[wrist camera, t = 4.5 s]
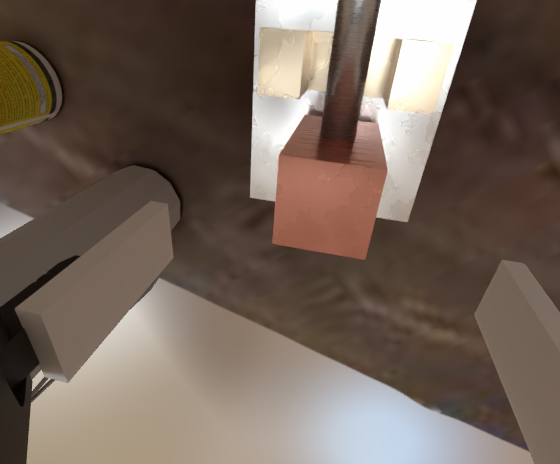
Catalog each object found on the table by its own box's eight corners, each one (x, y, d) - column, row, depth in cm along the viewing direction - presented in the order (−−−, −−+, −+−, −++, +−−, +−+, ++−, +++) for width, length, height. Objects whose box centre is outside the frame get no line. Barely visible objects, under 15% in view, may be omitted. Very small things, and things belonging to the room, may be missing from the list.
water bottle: (97, 187, 33) (-382, 474, 12) (148, 144, 29) (-399, 439, 8) (162, 257, 36) (-125, 588, 14) (215, 225, 32) (-58, 598, 11)
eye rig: (270, -311, 16) (129, -852, 6) (571, -325, 14) (1039, -1104, 4) (253, 192, 30) (200, 273, 20) (406, 216, 28) (431, 317, 18)
